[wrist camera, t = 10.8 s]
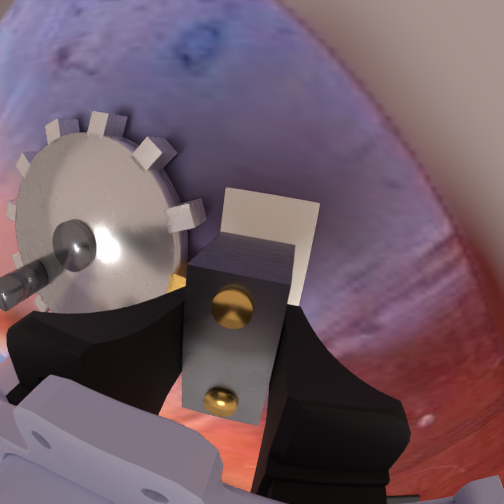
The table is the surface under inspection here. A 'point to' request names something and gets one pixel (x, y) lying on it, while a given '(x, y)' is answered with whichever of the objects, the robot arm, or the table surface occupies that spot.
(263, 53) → the table surface
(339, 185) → the table surface
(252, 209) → the pad
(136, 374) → the robot arm
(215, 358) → the gray knob block
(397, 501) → the phone
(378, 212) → the table surface
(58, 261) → the sprocket
